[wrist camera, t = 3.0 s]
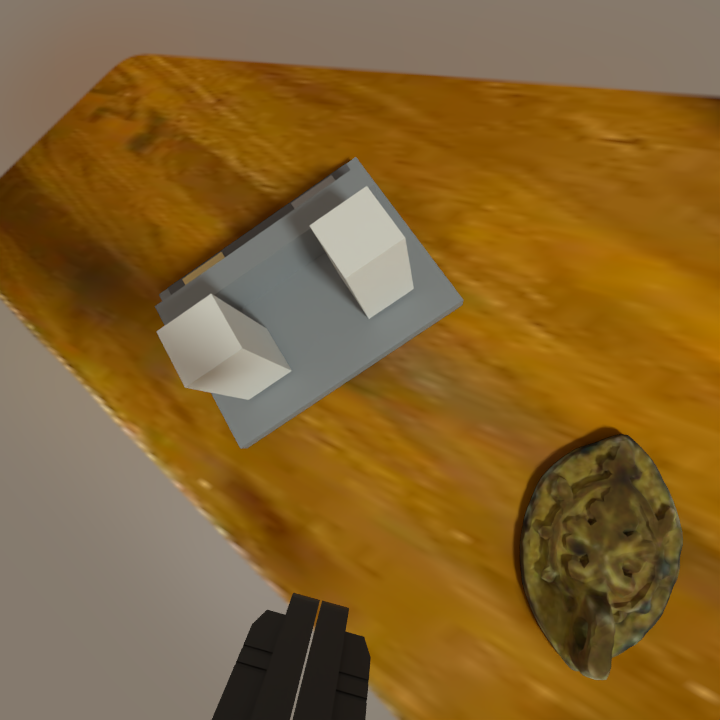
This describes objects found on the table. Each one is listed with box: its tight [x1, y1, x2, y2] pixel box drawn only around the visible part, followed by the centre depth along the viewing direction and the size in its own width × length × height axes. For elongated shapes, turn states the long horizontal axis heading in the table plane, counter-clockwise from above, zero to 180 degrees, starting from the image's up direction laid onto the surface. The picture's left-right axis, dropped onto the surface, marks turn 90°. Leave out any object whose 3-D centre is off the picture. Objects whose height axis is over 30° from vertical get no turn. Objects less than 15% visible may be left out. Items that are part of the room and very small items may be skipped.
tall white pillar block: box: [156, 294, 292, 400], centre depth 29 cm, size 4×4×8 cm
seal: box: [520, 434, 683, 680], centre depth 27 cm, size 9×5×15 cm
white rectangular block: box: [310, 186, 414, 319], centre depth 28 cm, size 4×4×8 cm
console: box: [155, 157, 463, 448], centre depth 32 cm, size 15×20×5 cm
